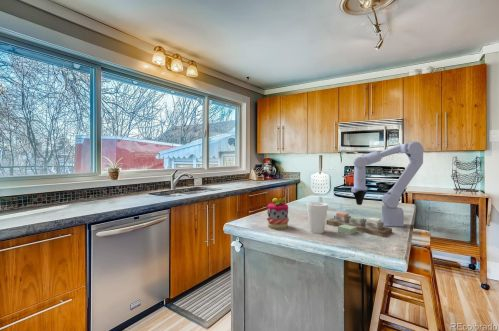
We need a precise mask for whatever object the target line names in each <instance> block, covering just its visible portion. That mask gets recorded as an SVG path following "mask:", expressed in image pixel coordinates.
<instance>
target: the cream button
mask: <svg viewBox="0 0 499 331" xmlns="http://www.w3.org/2000/svg"><path fill="white" fill-rule="evenodd" d="M366 221H367V222H369V223H374V224H379V223H381V221H382V218H378V217H369V218H367V219H366Z"/></svg>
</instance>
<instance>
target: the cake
mask: <svg viewBox="0 0 499 331" xmlns="http://www.w3.org/2000/svg"><path fill="white" fill-rule="evenodd" d="M286 199H287V198H286V197H283V198H277V197H274V198H272V201H271V203H268V205H267V210H266V211H267V216H268V217H267V218H266V220H267V221H268V222H267V227H268V228H269V229H273V230H285V229H288V228H289V227H288V225H289V223H288V222H289V221H290V219H289V216H288V213H289V205H288V204H286V203H284V202H285V200H286Z"/></svg>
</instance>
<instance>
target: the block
mask: <svg viewBox="0 0 499 331" xmlns="http://www.w3.org/2000/svg"><path fill="white" fill-rule="evenodd" d="M337 232H338V233H341V234H346V235H353V234H355V233H357V232H358V231H357V227H355V226H350V225H346V224H344V225H341V226H338V227H337Z"/></svg>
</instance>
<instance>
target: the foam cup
mask: <svg viewBox="0 0 499 331" xmlns="http://www.w3.org/2000/svg"><path fill="white" fill-rule="evenodd" d="M328 207H329V204H328V203H327V202H326V203H325V202H319V201H309V202H306V209H307V219H308V225H309V232H310V233H312V234H313V233H314V234H324V233H325V226H326V222H327V213H328V210H329V208H328Z"/></svg>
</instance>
